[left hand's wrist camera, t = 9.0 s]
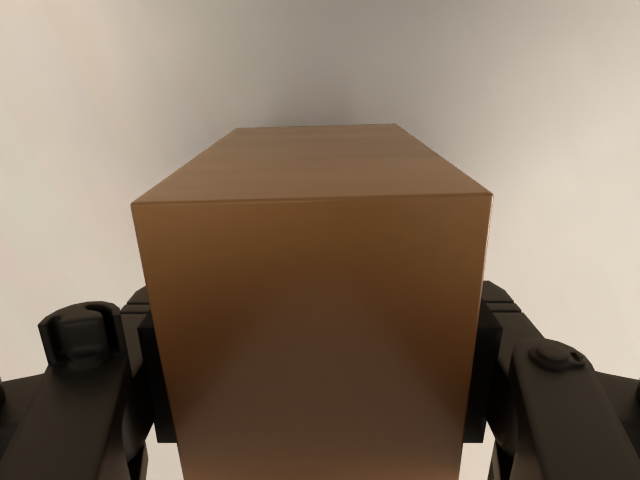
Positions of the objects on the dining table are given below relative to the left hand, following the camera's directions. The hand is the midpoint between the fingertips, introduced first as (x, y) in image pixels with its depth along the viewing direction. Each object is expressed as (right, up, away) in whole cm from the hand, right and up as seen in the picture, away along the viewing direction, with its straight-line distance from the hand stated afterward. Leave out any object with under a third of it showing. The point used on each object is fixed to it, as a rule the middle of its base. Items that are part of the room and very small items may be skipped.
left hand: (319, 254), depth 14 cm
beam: (+1, -27, +11) cm, 29 cm away
